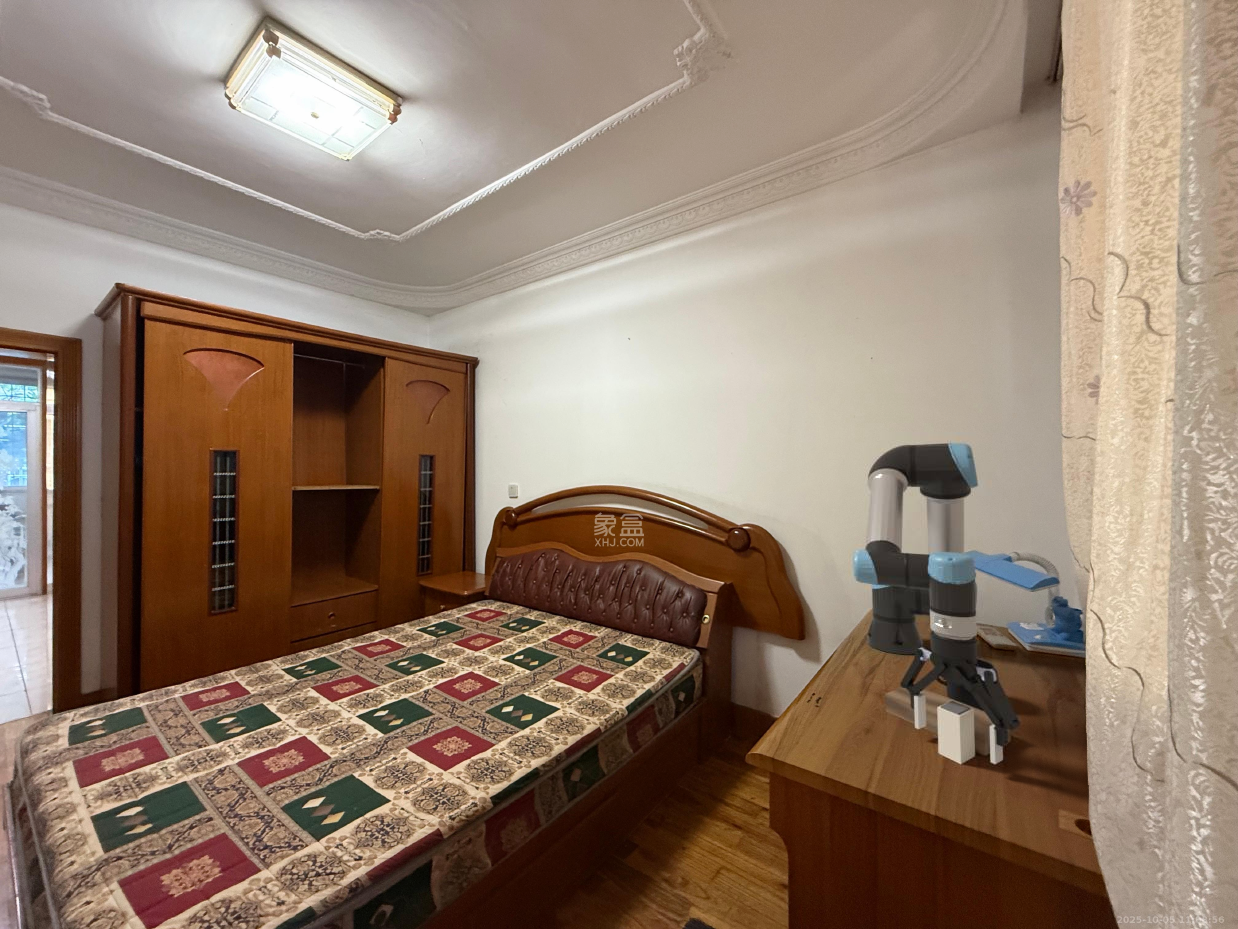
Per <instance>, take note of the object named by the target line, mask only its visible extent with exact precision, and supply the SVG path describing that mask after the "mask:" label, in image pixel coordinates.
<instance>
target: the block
mask: <svg viewBox="0 0 1238 929" xmlns="http://www.w3.org/2000/svg"><path fill="white" fill-rule="evenodd" d="M937 717H938V735H937V739H938V740H937V744H938V745H937V746H938V747H937V749H938V754H939V755H941V756H943V757H945V758H947V759H950V760H952V761H954V762H956V763H958V764H960V765H962V764H964V763H965V762H968V761H969V760H970V759H972V758H974V757H976V752H975V739H974V709H971V708H970V707H967V706H965V705H962V704H959V703H957V702H954V701H950V702H948V703H946V704H944V705H941V706H939V707H937Z"/></svg>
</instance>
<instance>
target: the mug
mask: <svg viewBox="0 0 1238 929" xmlns="http://www.w3.org/2000/svg"><path fill="white" fill-rule="evenodd" d="M977 663H978V666H979V667H980V668H985V669H991V668H995V669H996V667H995V665H994V664H993V663H991V662H989V661H988V660H985V659H982V658H978V657H977ZM977 678H978V679H979V680H980V682H981V683H982V687H983V688H984V690H985V691H986V692H987V694H988V695H989V696H990V698H991V699H992V697H991V695H990V693H989V691H988V689H987V687H986V684H985V681H983V680H982V677H981V676H980V675H979V674H978V675H977ZM935 681H937V682H938V683H939V684H941V685H943V686H944V687H946V697H948V698H950V699H953V700H955V701H958V702H961V703H963V704H966V705H969V706H971V707H974V708H976V709H979V710H982V711H984V710H983V709H982V708H981V706H980V705H979V703H978V702H977V701H976V699H975V698H974V697H973V695H972V694H971V692H969V691H967V689H966V688H965V687H964V685H957V684H955V683H954V682H952V681H946V680H943V679H941V677H938V678H937V679H936V680H935ZM970 683H971V684H972V685H973V683H972V681H971V682H970ZM992 700H993V699H992ZM993 702H994V701H993Z"/></svg>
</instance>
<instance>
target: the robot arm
mask: <svg viewBox="0 0 1238 929" xmlns="http://www.w3.org/2000/svg"><path fill="white" fill-rule="evenodd" d="M976 469H977V468H976V464H975V458H974V455H973V449H972V447H971V445H969V444H967V443H963V442H961V443H959V442H958V443H953V442H948V443H931V444H930V443H927V444H926V443H925V444H904V445H902V444H901V445H899V446H896V447H893V448H891V449H889V450H888V451H886V452H884V453H883V454H882V455H881V456H879V458H877V459H876V461H875V462H874V463H873V464H872V465H871V467H870V470H869V473H868V476H867V487H868V489H869V490H870V495H869V496H870V497H869V506H868V516H867V527H866V536H865V537H866V538H865V547H864V549H857V550H856V551H854V554H853V562H852V564H853V565H852V568H853V570H852V571H853V578H854V580H856V581H857V582H858V583H862V584H867V585H871V593H872V594H871V595H872V596H871V600H872V601H871V603H872V605H871V606H872V619H871V622H870V625H869V628H868V630H867V631H868V632H867V634H866V639H867V640H866V642H867V645H869V646H870V647H872V648H873V649H875V650H879V651H882V652H885V653H890V654H895V655H896V654H897V655H898V654H899V655H914V656H913V657H914V658H913V660H912V662H911V664H910V666H909V667H908V669H907V671H906V672H905V674H904V676H903V678H902V680H901V681H900V688H906V689H907V690H908V691H909V692H910V702H911V708H912V709H914V712H915V724H914V728H915V729H916V730H920V729H924V728H923V727H925V726H926V698H925V694H923V693H920V692H921V691H923V689H926V688H927V687H928V686H930V685H931V684H932V683H934V682H935V681H937V680H936V679H937V678H938V677H939V678H942V680H943V681H952V682H954V683H955V684H957V685H964V687H965V688H966V689H967V691H969V692H971V694H972V695H973V697H974V698H975V699H976V701H977V702H978V703H979V705H980V706H981V708H982V709H983V710H982V711H984V712H985V713H986V714H987V716H988V717H989V719H990V720H991V721H992V723H993V725H991V726H990V753H989V754H990V755H989V756H990V757H989V758H990V763H991V764H994V765H996V764H999V763H1000V762H1001V761H1003V760H1004V754H1003V752H1004V751H1003V750H1004V747H1006V746H1007V745H1008V744H1009V742H1008V729H1009V730H1010V731H1014V730H1016V729H1017V728H1019V727H1020V726H1021V725H1022V724H1021V721H1020V720H1019V718H1018V716H1017V714H1016V712H1015V710H1014V707H1013V706H1012V704H1011V702H1010V700H1009V698H1008V696H1007V694H1006V692H1005V690H1004V688H1003V686H1002V684H1001V682H1000V679H999V672H998V670H997V669H996V667H995V668H991V669H985V668H980V667H979V666H978V663H977V658H978V656H979V655H978V639H977V637H976V636H978V626H977V623H978V622H977V610H976V609H977V602H978V599H977V597H978V584H977V582H976V577H977V572H976V568H975V560H974V557H972V556H970V554H969V555H968V554H966V553H965V499H966V498H968V497H969V496H970V495H971V493H972V489H974V488H976V487H979V484H978V475H977V471H976ZM909 487H911V488H919V493H920V494H921V495H922V497H924V498H926V527H927V529H926V530H927V553H926V554H925V553H910V552H909V553H908V552H903V550H902V548H903V518H904V516H903V512H904V493H905V492H906V491H907V489H908V488H909ZM916 615H917V616H925V617H929V623H930V626H929V627H930V629H931V632H930V634H929V635H930V649H931V651H930V650H928V649H927V648H928V647H925V646H924V642H923V638H922V636H921V632H920V631H919V627H918V626H917V621H916V620H917V618H916ZM927 661H930V662H931V663H932V665H933V666H934V668H932V669H931V670H930V671H929V672H928V673H927V674H926V675H925V676H923V677H922V678H921V679H919V680H918V681H916V679H917V678H918V676H919V674H920V672H921V671H922V668H924V666H925V665H926V662H927ZM978 674H979V675H980V676H981V677H982V680H983V681H985V684H986V687H987V689H988V691H989V693H990V695H991V697H992V699H993V700H992V699H991V698H990V696H989V695H988V694H987V692H986V691H985V690H984V688H983V687H982V683H981V682H980V680H979V679H978V678H977V675H978ZM971 681H972V683H973V685H972V684H971V683H970V682H971ZM915 682H916V683H915ZM993 701H994V702H993Z"/></svg>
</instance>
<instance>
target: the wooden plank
mask: <svg viewBox="0 0 1238 929" xmlns="http://www.w3.org/2000/svg"><path fill="white" fill-rule="evenodd" d="M920 693H923V694H925V698H926V726H925V727H923V728H922V729H924V730H926V731H928V732H930V733H933V734H935V735H937V736H938V717H937V707H939V706H941V705H944V704H946V703H948V702H950V701H954V702H957V703H959V704H962V705H965V706H967V707H970V708H971V709H974V739H975V753H977V754H980V755H982V756H984V757H986V756H988V755H989V754H990V726H991V725H993V723H992V721H991V720H990V719H989V717H988V716H987V714H986V713H985V712H984V710H979V709H976V708H974V707H971V706H969V705H966V704H963V703H961V702H958V701H955V700H953V699H950V698H948V696H944V695H942V694H939V693H937V692H934V691H931V690H929V689H926V688H925V689H923V691H921V692H920ZM884 696H885V712H887V714H890V715H893V716H895V717H897V718H900V719H902V720H903V721H906V722H909V723H910V724H913V725H915V712H914V709H912V708H911V702H910V692H909V691H908V690H907V689H906V688H902V687H899V688H896V689H895V690H891V691H889V692H887V693H885V694H884ZM1011 739H1012V738H1011V730H1009V729H1008V743H1010V742H1011V741H1012V740H1011Z"/></svg>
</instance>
